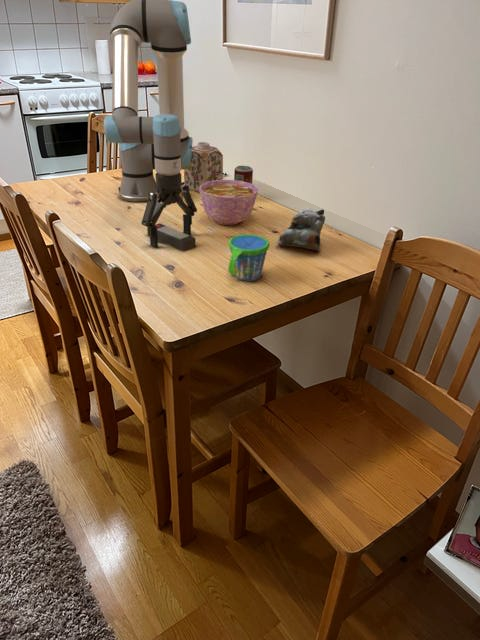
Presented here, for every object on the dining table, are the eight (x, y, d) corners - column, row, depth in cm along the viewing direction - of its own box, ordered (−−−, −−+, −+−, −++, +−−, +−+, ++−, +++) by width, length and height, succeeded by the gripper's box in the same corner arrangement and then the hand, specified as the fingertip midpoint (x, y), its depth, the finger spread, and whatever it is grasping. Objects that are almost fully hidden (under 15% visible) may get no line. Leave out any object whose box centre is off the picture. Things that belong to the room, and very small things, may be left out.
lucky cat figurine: (269, 243, 154) (281, 200, 152) (298, 252, 160) (310, 211, 158) (296, 247, 141) (309, 200, 139) (327, 257, 147) (340, 212, 146)
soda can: (248, 202, 187) (250, 170, 181) (231, 200, 189) (232, 168, 182) (253, 197, 193) (255, 165, 187) (236, 195, 195) (237, 164, 188)
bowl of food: (187, 220, 169) (186, 187, 163) (227, 207, 182) (228, 176, 175) (228, 236, 158) (229, 201, 151) (268, 221, 170) (270, 189, 164)
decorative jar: (201, 182, 208) (201, 138, 198) (223, 187, 202) (224, 143, 193) (183, 188, 199) (182, 143, 190) (205, 194, 194) (205, 147, 184)
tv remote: (195, 246, 150) (195, 236, 148) (183, 251, 147) (183, 241, 145) (160, 231, 159) (159, 222, 158) (147, 235, 156) (147, 225, 154)
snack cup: (244, 292, 126) (245, 256, 121) (214, 279, 132) (214, 244, 126) (279, 272, 136) (282, 239, 131) (250, 261, 142) (252, 228, 136)
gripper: (142, 183, 132) (147, 255, 143) (207, 167, 148) (207, 233, 159) (125, 177, 136) (131, 247, 147) (191, 162, 152) (192, 227, 163)
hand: (171, 240), depth 153 cm, fingers open, 13 cm apart
